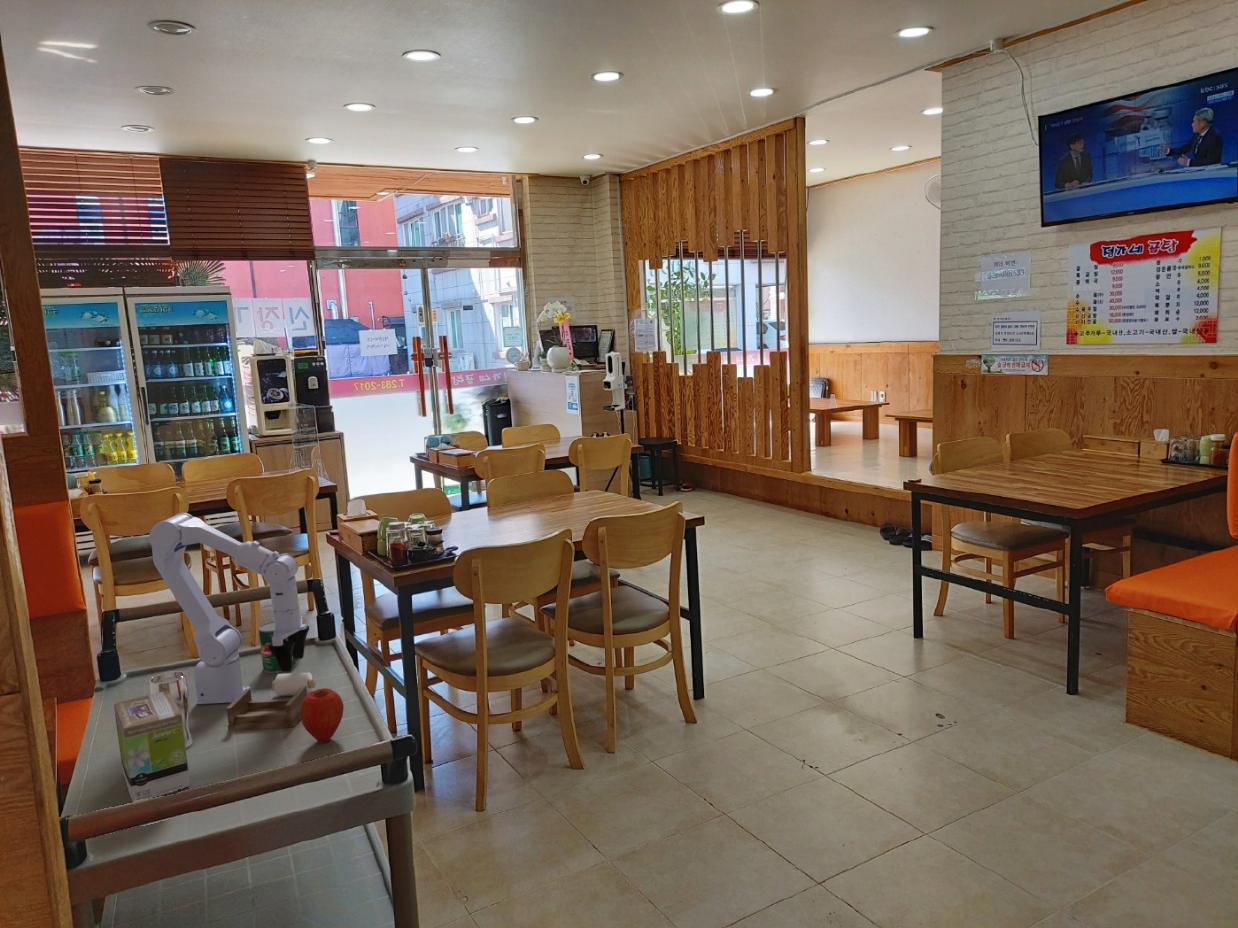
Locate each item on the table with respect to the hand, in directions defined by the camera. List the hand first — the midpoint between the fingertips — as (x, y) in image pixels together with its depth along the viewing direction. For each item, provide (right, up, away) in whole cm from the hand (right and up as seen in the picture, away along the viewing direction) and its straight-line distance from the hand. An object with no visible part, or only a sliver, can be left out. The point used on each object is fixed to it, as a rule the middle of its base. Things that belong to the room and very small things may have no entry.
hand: (292, 664), depth 204 cm
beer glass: (-15, -12, -23) cm, 30 cm away
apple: (+16, -10, -23) cm, 30 cm away
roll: (0, -5, 0) cm, 5 cm away
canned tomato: (-10, -5, +18) cm, 21 cm away
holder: (-1, -9, -12) cm, 15 cm away
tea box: (-12, -14, -36) cm, 41 cm away
